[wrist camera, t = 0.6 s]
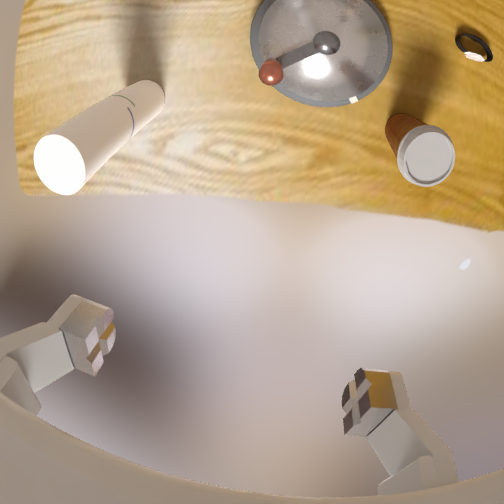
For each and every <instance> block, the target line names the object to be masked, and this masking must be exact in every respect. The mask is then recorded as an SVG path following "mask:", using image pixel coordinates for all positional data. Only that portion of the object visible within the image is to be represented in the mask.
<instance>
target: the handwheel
mask: <svg viewBox="0 0 504 504" xmlns="http://www.w3.org/2000/svg"><path fill="white" fill-rule="evenodd" d="M259 48H260V52H261V56H262V58H263V61H264V62H263V64H262V66H261V68H260V71H259V78H260V80H261V81H262V82H263V83H264V84H266V85H270V86H273V85H277V84H279V83H281V84H282V85H283V86H284V87H286V88H287V89H289V90H290V91H292V92H294V93H295V94H297V95H300V96H302V97H305V98H308V99H312V100H317V101H329V102H331V101H340V100H345V99H349V98H352V97H354V96H356V95H359V94H361V93H362V92H364V91H365V90H367V89H368V88H369V87H370V86H371V85H373V83H374V82H375V81H376V80H377V79H378V77H379V76H380V74H381V73H382V71H383V69H384V66H385V63H386V60H387V54H388V43H387V36H386V33H385V29H384V27H383V25H382V22H381V21H380V19H379V17H378V16H377V14H376V13H375V12H374V10H373V9H372V8H371V7H370V6H369V5H368V4H367V3H366V2H364V1H363V0H276V1H275V2H274V3H273V4H272V5H271V6H270V7H269V8H268V10H267V11H266V13H265V15H264V17H263V19H262V22H261V25H260V30H259Z"/></svg>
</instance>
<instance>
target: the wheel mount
mask: <svg viewBox="0 0 504 504" xmlns="http://www.w3.org/2000/svg"><path fill="white" fill-rule="evenodd" d="M275 1H276V0H264V2H263V3H262V4H261V5H260V7H259V8H258V10H257V12H256V14H255V16H254V19H253V21H252V26H251V30H250V44H251V50H252V55H253V58H254V60H255V63H256V65H257V67H258V68H259V70H260V68H261V66H262V64H263V62H264V61H263V58H262V56H261V52H260V48H259V30H260V25H261V22H262V19H263V17H264V15H265V13H266V11H267V10H268V8H269V7H270V6H271V5H272V4H273V3H274V2H275ZM363 1H364V2H366V3H367V4H368V5H369V6H370V7H371V8H372V9H373V10H374V12H375V13H376V14H377V16H378V17H379V19H380V21H381V22H382V25H383V27H384V29H385V33H386V36H387V43H388V54H387V60H386V63H385V66H384V69H383V71H382V73H381V74H380V76H379V77H378V79H377V80H376V81H375V82H374V83H373V85H371V86H370V87H369V88H368V89H367V90H365V91H364V92H362V93H361V94H359V95H356V96H354V97H352V98H349V99H345V100H340V101H331V102H329V101H317V100H312V99H308V98H305V97H302V96H300V95H297V94H295V93H294V92H292V91H290V90H289V89H287V88H286V87H284V86H283V85H282V84H281V83H279V84H277V85H273V87H274V88H275V89H277V90H278V91H279V92H281V93H282V94H284V95H285V96H287V97H289V98H291V99H293V100H295V101H298V102H300V103H303V104H307V105H311V106H317V107H338V106H343V105H347V104H350V103H351V104H352V103H355V102H357V101H358V100H360V99H362V98H364V97H365V96H367V95H368V94H370V93H371V92H372V91H373V90H374V89H376V87H377V86H378V85H379V84H380V83H381V82H382V80H383V79H384V77H385V75H386V73H387V71H388V69H389V66H390V63H391V58H392V38H391V33H390V30H389V27H388V25H387V22H386V20H385V18H384V17H383V15H382V13H381V12H380V11H379V9H378V8H377V7H376V5H375V4H374V3H373V2H372V1H371V0H363Z"/></svg>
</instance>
